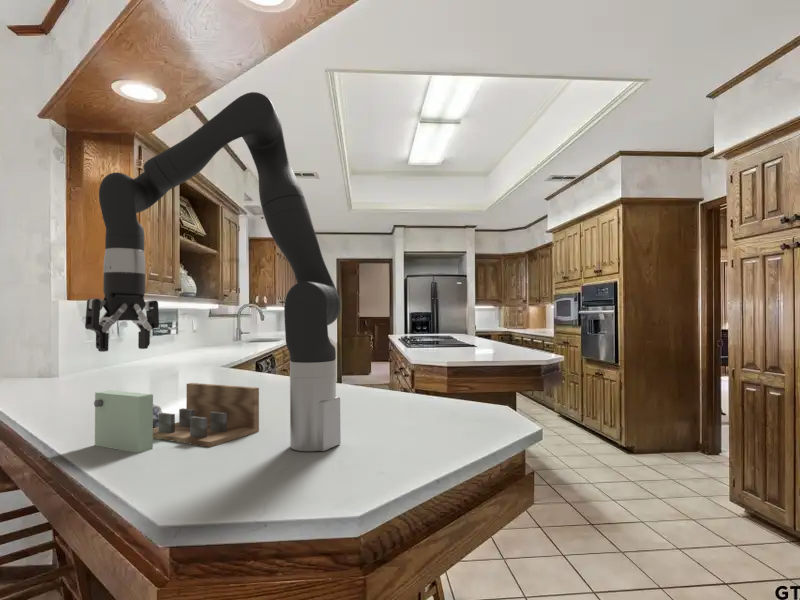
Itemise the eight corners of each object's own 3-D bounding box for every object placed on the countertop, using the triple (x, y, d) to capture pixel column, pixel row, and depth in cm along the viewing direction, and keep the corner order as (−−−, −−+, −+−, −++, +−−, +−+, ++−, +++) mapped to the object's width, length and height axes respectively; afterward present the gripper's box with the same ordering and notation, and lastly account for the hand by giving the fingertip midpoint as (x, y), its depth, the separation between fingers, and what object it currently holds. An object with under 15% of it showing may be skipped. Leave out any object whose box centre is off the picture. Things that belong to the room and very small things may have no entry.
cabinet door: (152, 449, 94) (152, 394, 94) (133, 454, 90) (134, 397, 91) (109, 441, 100) (109, 390, 101) (89, 446, 97) (90, 393, 97)
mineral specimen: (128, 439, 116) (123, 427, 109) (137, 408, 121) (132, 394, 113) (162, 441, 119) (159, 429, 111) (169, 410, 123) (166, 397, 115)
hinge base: (259, 431, 107) (258, 387, 108) (210, 447, 95) (210, 397, 95) (191, 423, 117) (191, 382, 117) (139, 436, 104) (139, 391, 105)
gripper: (101, 268, 89) (100, 353, 89) (167, 273, 102) (166, 348, 101) (77, 270, 92) (76, 352, 92) (144, 275, 105) (144, 347, 105)
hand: (124, 350), depth 97 cm, fingers open, 8 cm apart
